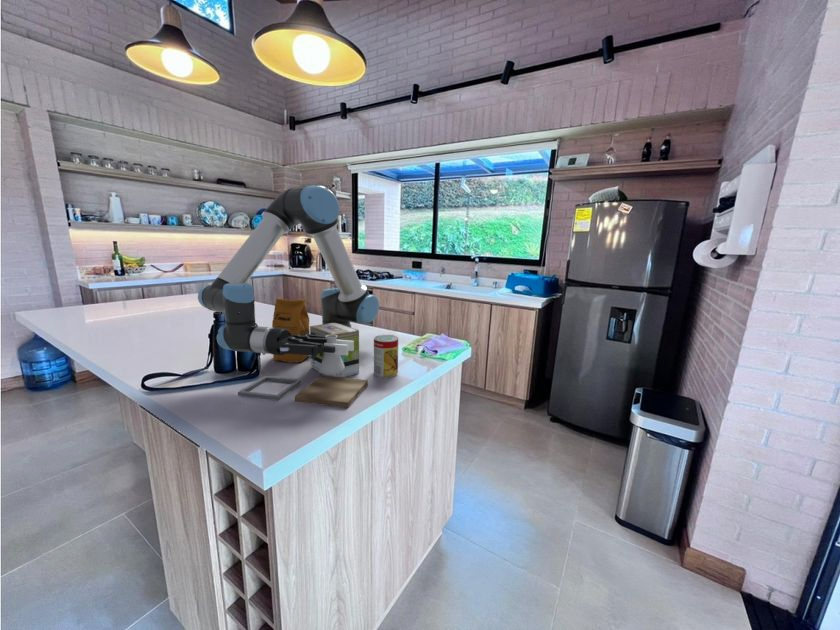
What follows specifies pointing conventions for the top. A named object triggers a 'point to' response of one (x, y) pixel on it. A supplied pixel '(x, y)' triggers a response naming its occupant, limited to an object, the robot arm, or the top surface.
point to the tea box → (342, 334)
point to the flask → (331, 360)
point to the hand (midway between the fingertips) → (350, 348)
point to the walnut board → (332, 391)
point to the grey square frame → (270, 396)
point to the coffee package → (291, 323)
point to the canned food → (385, 355)
